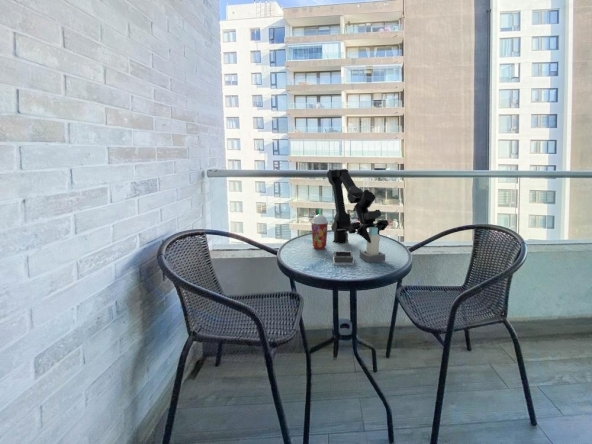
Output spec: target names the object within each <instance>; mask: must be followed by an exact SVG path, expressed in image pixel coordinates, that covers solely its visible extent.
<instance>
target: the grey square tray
mask: <svg viewBox="0 0 592 444" xmlns="http://www.w3.org/2000/svg"><path fill="white" fill-rule="evenodd" d="M359 258H360V259H362V260H363V261H365V262H367V263H368V264H372V263H373V264H374V263H380V262H386V254H385V253H383V252H381V251H379V255H372V256H369V255H368V254H367V250H362V251H359Z"/></svg>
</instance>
